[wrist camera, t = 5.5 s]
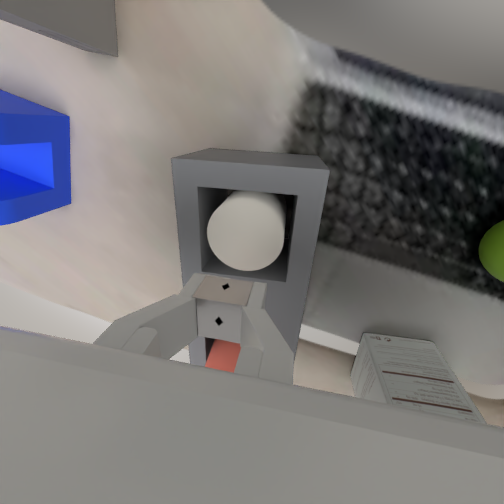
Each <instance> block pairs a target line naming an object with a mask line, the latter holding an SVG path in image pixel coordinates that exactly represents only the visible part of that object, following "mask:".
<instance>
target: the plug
mask: <svg viewBox="0 0 504 504" xmlns="http://www.w3.org/2000/svg"><path fill="white" fill-rule="evenodd" d="M286 211H287V205H286V200H285V197H284V195H283V194H279V193H267V192H256V191H244V190H234V191H233V192H232V193H231V195H230V196H229V197H228V198H227V199H226V200H225V201H224V202H223V203H222V204H221V205H220V206H219V207H218V208H217V209H216V210H215V211H214V213H213V214H212V216H211V218H210V220H209V223H208V227H207V237H208V242H209V245H210V247H211V249H212V251H213V252H214V254H215V255H216V256H217V257H218V259H220V260H221V261H222V262H223V263H225V264H226V265H228V266H230V267H232V268H234V269H238V270H243V271H254V270H259V269H262V268H264V267H266V266H268V265H270V264H271V263H272V262H274V261H275V259H276V258H277V257H278V256H279V254H280V252H281V250H282V247H283V243H284V233H285V222H286Z"/></svg>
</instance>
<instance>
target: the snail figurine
mask: <svg viewBox="0 0 504 504" xmlns="http://www.w3.org/2000/svg"><path fill="white" fill-rule="evenodd" d="M479 257H480V260H481V263H482V265H483V266H484V268H485V269H486V270H487V271H488V272H489V273H490V274H491V275H492V276H494V277H495V278H497V279H499V280H500V281H503V282H504V220H503V221H501V222H499V223H497V224H495V225H494V226H493V227H491V228H490V229H489V230H488V231H487V232H486V233H485V235H484V236H483V238H482V239H481V242H480V245H479Z"/></svg>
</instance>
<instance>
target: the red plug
mask: <svg viewBox="0 0 504 504" xmlns="http://www.w3.org/2000/svg"><path fill="white" fill-rule="evenodd" d="M240 350H241V346H240V344H238V343H234V342H229V341H224V340H220V339H215V340H214V343H213V345H212V348H211V351H210V353H209V356H208V359H207V362H206V364H205V367H209V368H213V369H218V370H223V371H228V372H233V373H234V370H235V367H236V363H237V360H238V357H239V353H240Z"/></svg>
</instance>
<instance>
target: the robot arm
mask: <svg viewBox="0 0 504 504" xmlns="http://www.w3.org/2000/svg"><path fill="white" fill-rule="evenodd" d="M266 291H267V283H261V282H251V281H243V280H236V279H231V278H225V277H219V276H214V275H207V274H201V273H194V274H193V275H192V277H191V278H190V279H189V281H188V282H187V283H186V285H185V286H184V288H183V289H182V290H181V292H180V293H179V294H178V295H172V296H170V297H168V298H165V299H163V300H161V301H158V302H156V303H154V304H152V305H149V306H147V307H145V308H142V309H140V310H138V311H136V312H133V313H131V314H129V315H126V316H124V317H122V318H119V319H117V320H115V321H114V322H113V323H112V324H111V325H110V326H109V327H108V328H107V329H106V331H104V332H103V333H102V335H101V336H100V337H99V338H98V339H97V340H96V341H95V342H94V343H93V344H90V343H85V342H80V341H75V340H70V339H65V338H59V337H55V336H50V335H45V334H40V333H35V332H30V331H25V330H20V329H15V328H10V327H6V326H1V325H0V504H504V427H500V426H495V425H490V424H485V423H480V422H475V421H470V420H465V419H460V418H455V417H450V416H445V415H441V414H436V413H431V412H426V411H421V410H416V409H411V408H406V407H401V406H396V405H391V404H386V403H381V402H376V401H371V400H366V399H362V398H357V397H352V396H347V395H342V394H337V393H332V392H327V391H322V390H317V389H312V388H307V387H302V386H297V385H293V369H294V353H293V352H292V350H291V349H290V347H289V346H288V344H287V343H286V341H285V339H284V338H283V336H282V335H281V333H280V332H279V330H278V329H277V327H276V326H275V324H274V323H273V321H272V320H271V318H270V316H269V315H268V313H267V312H266V310H265V300H266ZM197 336H201V337H207V338H214V339H220V340H224V341H229V342H234V343H238V344H240V346H241V350H240V353H239V357H238V360H237V363H236V367H235V370H234V373H233V372H228V371H223V370H218V369H213V368H209V367H204V366H199V365H194V364H188V363H183V362H179V361H174V360H169V359H170V358H171V357H172V356H174V355H175V354H176V353H177V352H179V351H180V350H181V349H183V348H184V347H185V346H187V345H188V344H189V343H191V342H192V341H193V340H195V339H196V338H197Z"/></svg>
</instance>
